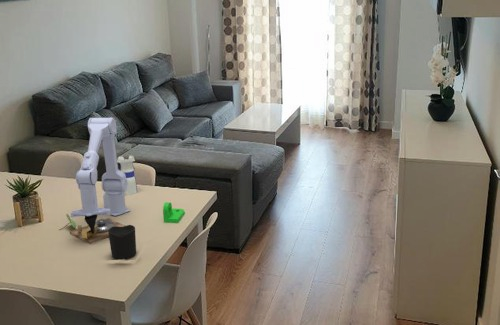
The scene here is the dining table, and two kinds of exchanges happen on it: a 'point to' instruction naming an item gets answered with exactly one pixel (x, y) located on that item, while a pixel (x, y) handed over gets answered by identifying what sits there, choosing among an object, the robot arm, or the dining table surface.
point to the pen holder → (122, 242)
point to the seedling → (71, 222)
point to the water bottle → (128, 172)
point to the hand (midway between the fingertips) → (93, 232)
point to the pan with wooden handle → (98, 228)
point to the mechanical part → (172, 213)
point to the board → (96, 236)
